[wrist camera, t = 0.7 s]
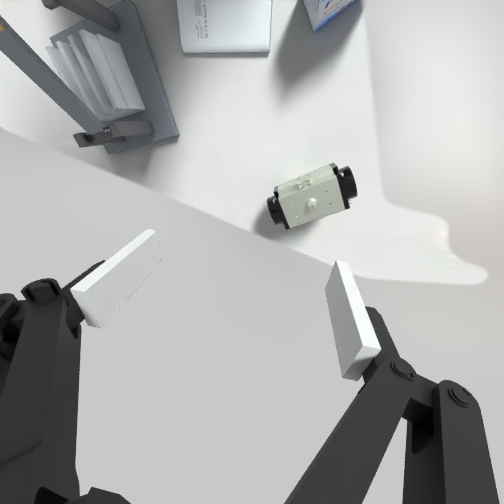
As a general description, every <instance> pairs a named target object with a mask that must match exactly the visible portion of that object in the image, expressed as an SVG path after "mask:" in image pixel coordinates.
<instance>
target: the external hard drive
mask: <svg viewBox="0 0 504 504" xmlns="http://www.w3.org/2000/svg"><path fill="white" fill-rule="evenodd" d="M176 2H177V11H178V20H179V29H180V38H181V46H182V51H183V52H184V53H220V52H270V40H271V19H272V0H176Z"/></svg>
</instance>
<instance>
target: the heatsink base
mask: <svg viewBox="0 0 504 504" xmlns="http://www.w3.org/2000/svg"><path fill="white" fill-rule="evenodd" d="M42 2H43V4H44V6H45V7H46V8H48V9H51V10H53V9H55V8H57V7H59V6H60V5H61V6H63V7H65V8H67V9H69V10H71V11H73V12H75V13H77V14H79V15H81V16H83V17H85V18H87V19H86V20H84V21H82V22H80V23H78V24H76V25H74V26H72V27H70V28H68V29H66V30H64V31H62V32H60V33H58V34H56V35H54V36H52V37H50V40H51V42H52V44H53V46H54V47H50V46H47V47H45V49H46V51H47V53H48V54H49V56H50V58H51V60H52V62H53V64H54V66H55V68H56V70H57V72H58V73H59V75H60V77H61V79H62V81H63V82H64V83H65V84H66V85H67V86H68V87H69V89H70V90H71V91H72V92H73V93H74V94H75V95H76V96H77V97H78V98H79V99H80V100H81V101H82V102H83V103H84V104H85V105H86V106H87V107H88V108H89V110H90V111H91V112H92V113H93V114H94V115H95V116H96V117H97V118H98V119H99V120H100V121H101V122H102V123H103V124H104V125H105V126H108V127H109V129H110V131H111V133H112V135H113V138H110V139H107V140H103V141H100V142H97V143H94V144H91V143H89V142H88V141H87V140H86V138H85V133H77V134H74V135H73V136H74V138H75V140H76V142H77V143H78V145H79V147H88V146H97V145H104V146H105V148H106V150H107V152H108V154H114V153H118V152H121V151H125V150H128V149H132V148H135V147H139V146H142V145H146V144H149V143H153V142H156V141H160V140H163V139H167V138H170V137H174V136H177V135H180V134H179V132H178V129H177V126H176V123H175V120H174V117H173V114H172V111H171V108H170V106H169V103H168V100H167V97H166V94H165V91H164V88H163V85H162V82H161V80H160V77H159V74H158V71H157V68H156V65H155V62H154V59H153V56H152V54H151V51H150V48H149V45H148V42H147V39H146V36H145V33H144V31H143V28H142V25H141V22H140V19H139V16H138V13H137V10H136V7H135V5H134V4H133V3H132V2H131V1H129V0H124V1H122V2H120V3H118V4H116V5H114V6H112V7H110V8H108V9H107V8H106V7H104V6H102V5H101V4H99V3H98V2H96V1H94V0H42ZM86 133H88V132H86Z"/></svg>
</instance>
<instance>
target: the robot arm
mask: <svg viewBox="0 0 504 504" xmlns="http://www.w3.org/2000/svg"><path fill="white" fill-rule="evenodd" d="M161 261H162V257H161V252H160V245H159V240H158V234H157V231H156V230H150V229H147V230H146V231H144V232H143V233H141V234H140V235H139V236H138V237H137V238H135V239H134V240H132V241H131V242H130V243H129V244H127V245H126V246H125V247H123V248H122V249H121V250H120V251H118V252H117V253H116V254H115V255H113V256H112V257H111V258H109V259H108V260H107V261H105V260H103V261H101V262H99V263H96V264H95V265H93V266H92V267H91V268H89V269H88V270H87V271H85V272H84V273H82V275H80V276H78V277H77V278H76V279H74V280H73V281H72V282H70V283H69V284H68V285H66V286H65V287H64V288H62V289H61V288H60V286H59V284H58V282H57V281H56V280H55V279H51V278H46V279H41V280H37V281H34V282H32V283H30V284H28V285H26V286H25V287H24V288H23V289H22V290H21V293H22V294H23V296H24V297H25V299H26V300H19V301H18V300H17V299H16V297H15V296H14V295H13V294H10V293H5V294H0V504H131V503H129V502H128V501H127V500H126V499H125V498H123V497H122V496H121V495H120V494H116V493H112V492H109V491H105V490H101V489H97V488H94V487H91V489H90V491H89V493H88V494H86V495H83V496H80V491H79V480H78V476H77V473H76V468H75V458H76V457H75V456H76V436H77V414H78V392H79V371H80V348H81V325H80V322H82V321H83V320H84V319H85V320H86V322H87V324H88V325H89V326H93V327H98V328H102V327H103V326H104V324H105V323H106V322H107V321H108V320H109V319H110V318H111V317H112V316H113V314H114V313H115V312H116V311H117V310H118V309H119V308H120V307H121V306H122V304H123V303H124V302H125V301H126V300H127V299H128V298H129V297H130V296H131V295H132V293H133V292H134V291H135V290H136V289H137V288H138V287H139V286H140V285H141V284H142V282H143V281H144V280H145V279H146V278H147V277H148V276H149V275H150V274H151V272H152V271H153V270H154V269H155V268H156V267H157V266H158V264H160V262H161ZM325 292H326V297H327V302H328V307H329V312H330V317H331V322H332V327H333V332H334V338H335V343H336V348H337V353H338V358H339V363H340V368H341V374H342V378H345V379H350V380H355V381H358V380H359V379H360V377H361V376H362V375H363V379H364V382H365V384H364V385H363V387H362V388H361V389H360V390H359V392H358V393H357V396H356V397H355V399H354V400H353V402H352V403H351V405H350V406H349V408H348V409H347V410H346V412H345V413H344V415H343V416H342V418H341V419H340V421H339V423H338V424H337V425H336V427H335V428H334V430H333V431H332V433H331V434H330V436H329V437H328V439H327V440H326V442H325V443H324V445H323V446H322V448H321V449H320V451H319V452H318V454H317V455H316V457H315V458H314V460H313V461H312V463H311V464H310V466H309V467H308V469H307V470H306V472H305V473H304V475H303V476H302V478H301V479H300V481H299V482H298V484H297V485H296V487H295V488H294V490H293V491H292V493H291V494H290V496H289V497H288V498H287V500H286V502H285V503H284V504H362V502H363V500H364V498H365V496H366V494H367V491H368V489H369V487H370V485H371V482H372V480H373V478H374V476H375V474H376V472H377V469H378V467H379V465H380V462H381V461H382V458H383V456H384V454H385V452H386V450H387V447H388V445H389V443H390V440H391V438H392V436H393V434H394V432H395V430H396V427H397V425H398V423H399V421H400V418H401V417H403V418H404V419H406V420H407V436H406V452H405V469H404V486H403V487H404V488H403V503H402V504H499V499H498V494H497V489H496V484H495V479H494V474H493V469H492V464H491V459H490V455H489V450H488V444H487V439H486V434H485V429H484V424H483V419H482V415H481V410H480V407H479V404H478V402H477V401H476V399H475V398H474V397H473V396H472V394H471V393H470V392H468V391H467V390H466V389H465V388H464V387H462V386H460V385H459V384H458V383H455V382H453V381H450V380H443V381H441V382H440V383H439V384H437V383H435V382H433V381H430V380H428V379H426V378H424V377H422V376H420V375H418V374H416V372H415V370H414V369H413V368H412V366H411V365H410V364H409V363H408V362H406V361H405V360H404V359H401V358H400V356H399V354H398V352H397V349H396V347H395V345H394V343H393V340H392V338H391V336H390V334H389V332H388V329H387V327H386V325H385V323H384V321H383V318H382V316H381V315H380V314H379V313H378V312H377V310H376V309H375V308H372V307H366V306H364V303H363V301H362V298H361V296H360V293H359V290H358V288H357V285H356V283H355V280H354V277H353V275H352V272H351V270H350V267H349V264H348V262H347V261H341V260H336V261H335V264H334V267H333V269H332V272H331V275H330V277H329V280H328V282H327V285H326V288H325Z"/></svg>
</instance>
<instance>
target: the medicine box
mask: <svg viewBox="0 0 504 504" xmlns="http://www.w3.org/2000/svg"><path fill="white" fill-rule="evenodd" d="M303 1H304V4H305V7H306V10H307V13H308V16H309V19H310V22H311V25H312V28H313V31H316V30H318V29H319V28H320V27H321V26H323V25H324V24H325V23H327V22H328V21H329V20H331V19H332V18H333V17H335V16H336V15H337V14H339V13H340V12H341V11H342V10H344V9H345V8H346V7H348V6H349V5H350V4H352V3H353V2H354V1H355V0H303Z"/></svg>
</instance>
